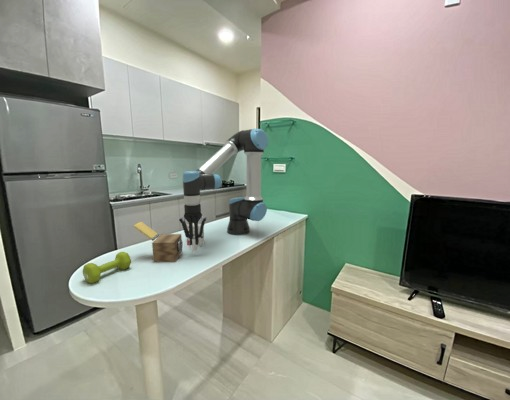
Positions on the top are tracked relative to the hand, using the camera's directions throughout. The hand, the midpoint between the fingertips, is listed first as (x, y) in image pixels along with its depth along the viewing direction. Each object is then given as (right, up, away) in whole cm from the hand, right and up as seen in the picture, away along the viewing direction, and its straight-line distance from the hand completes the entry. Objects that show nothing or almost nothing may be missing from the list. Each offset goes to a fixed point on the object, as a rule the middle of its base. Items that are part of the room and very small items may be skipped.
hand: (194, 250), depth 110 cm
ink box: (-4, 0, +16) cm, 16 cm away
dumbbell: (-31, -6, -18) cm, 36 cm away
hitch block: (-13, -3, 0) cm, 13 cm away
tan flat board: (-22, +10, -3) cm, 25 cm away
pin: (-13, 0, -1) cm, 13 cm away
